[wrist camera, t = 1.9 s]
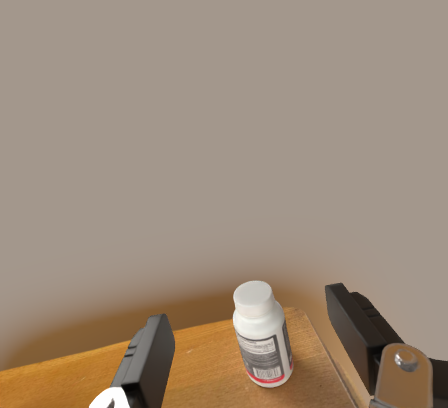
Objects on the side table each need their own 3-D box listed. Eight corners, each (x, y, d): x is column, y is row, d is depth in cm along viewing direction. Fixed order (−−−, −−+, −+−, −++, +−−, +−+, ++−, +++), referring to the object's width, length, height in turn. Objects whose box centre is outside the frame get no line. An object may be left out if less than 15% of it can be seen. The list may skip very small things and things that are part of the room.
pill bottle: (263, 337, 31) (248, 271, 28) (303, 358, 27) (290, 284, 25) (236, 371, 28) (215, 299, 25) (276, 401, 24) (258, 319, 21)
